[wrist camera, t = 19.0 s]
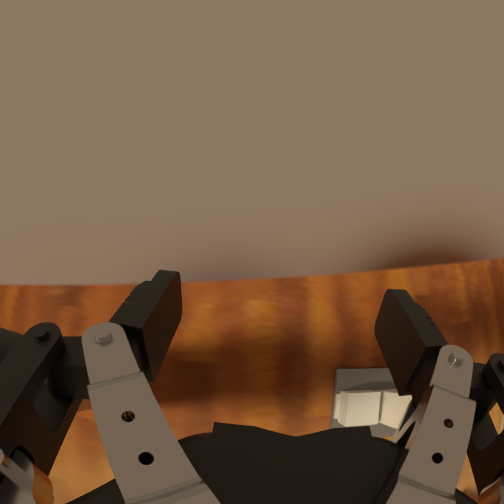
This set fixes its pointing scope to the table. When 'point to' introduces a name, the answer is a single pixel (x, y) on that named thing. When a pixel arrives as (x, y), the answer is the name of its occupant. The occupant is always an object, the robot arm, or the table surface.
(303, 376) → the table surface
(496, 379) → the robot arm
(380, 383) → the rail board
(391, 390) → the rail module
